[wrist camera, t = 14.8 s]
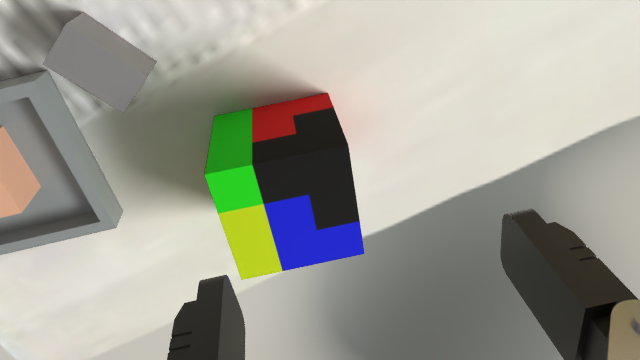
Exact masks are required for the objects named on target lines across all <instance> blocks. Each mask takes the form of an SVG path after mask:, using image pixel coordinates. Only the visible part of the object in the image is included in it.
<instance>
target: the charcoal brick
mask: <svg viewBox="0 0 640 360" xmlns="http://www.w3.org/2000/svg"><path fill="white" fill-rule="evenodd" d="M156 62H157V61H156V60H154V59H153V58H151V57H150V56H148V55H147V54H145V53H144V52H142V51H141V50H139V49H138V48H136V47H135V46H133V45H132V44H130V43H129V42H127V41H126V40H124V39H123V38H121V37H120V36H119V35H117V34H116V33H114V32H113V31H111V30H110V29H108V28H107V27H105V26H104V25H102V24H101V23H99V22H98V21H96V20H95V19H93V18H92V17H90V16H89V15H87V14H86V13H84V12H83V13H81V14H80V15H78V16H77V17H75V18H74V19H72V20H71V21H69V22H68V23H66V24H65V26H64V28H63V30H62V31H61V33H60V35H59V37H58V38H57V40H56V42H55V44H54V45H53V47H52V49H51V50H50V52H49V54H48V56H47V57H46V59H45V61H44V63H43V65H45V66H46V67H48V68H50V69H51V70H53V71H54V72H56V73H58V74H59V75H61V76H63V77H64V78H66V79H68V80H69V81H71V82H73V83H74V84H76V85H78V86H79V87H81V88H83V89H84V90H86V91H88V92H89V93H91V94H93V95H94V96H96V97H98V98H99V99H101V100H103V101H104V102H106V103H107V104H109V105H111V106H112V107H114V108H116V109H117V110H119V111H121V112H122V113H124V111H125V110H126V108H127V107H128V105H129V104H130V102H131V101H132V99H133V98H134V96H135V95H136V93H137V92H138V90H139V89H140V88H141V86H142V85H143V83H144V82H145V80H146V79H147V77H148V75H149V74H150V72H151V70H152V69H153V67H154V65H155V64H156Z"/></svg>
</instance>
